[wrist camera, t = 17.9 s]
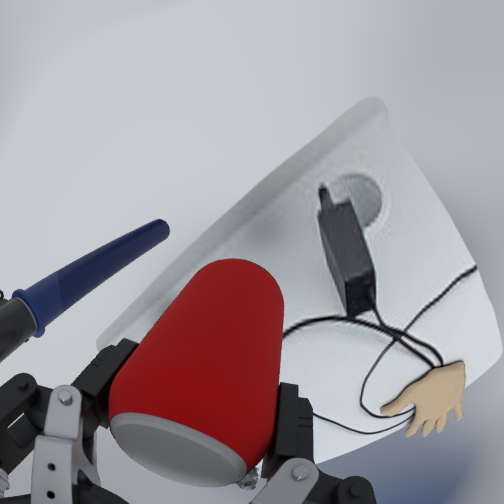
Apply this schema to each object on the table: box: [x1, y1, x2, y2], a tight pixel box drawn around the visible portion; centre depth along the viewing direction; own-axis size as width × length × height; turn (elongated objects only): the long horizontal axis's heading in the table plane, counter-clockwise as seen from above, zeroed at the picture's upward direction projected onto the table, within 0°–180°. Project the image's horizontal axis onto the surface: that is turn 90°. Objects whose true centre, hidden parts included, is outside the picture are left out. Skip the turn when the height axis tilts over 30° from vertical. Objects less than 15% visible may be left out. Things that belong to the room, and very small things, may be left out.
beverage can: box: [109, 259, 284, 487], centre depth 12 cm, size 6×6×12 cm
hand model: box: [380, 362, 466, 437], centre depth 35 cm, size 19×5×20 cm
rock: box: [236, 469, 258, 490], centre depth 47 cm, size 9×22×4 cm, turn 29°
